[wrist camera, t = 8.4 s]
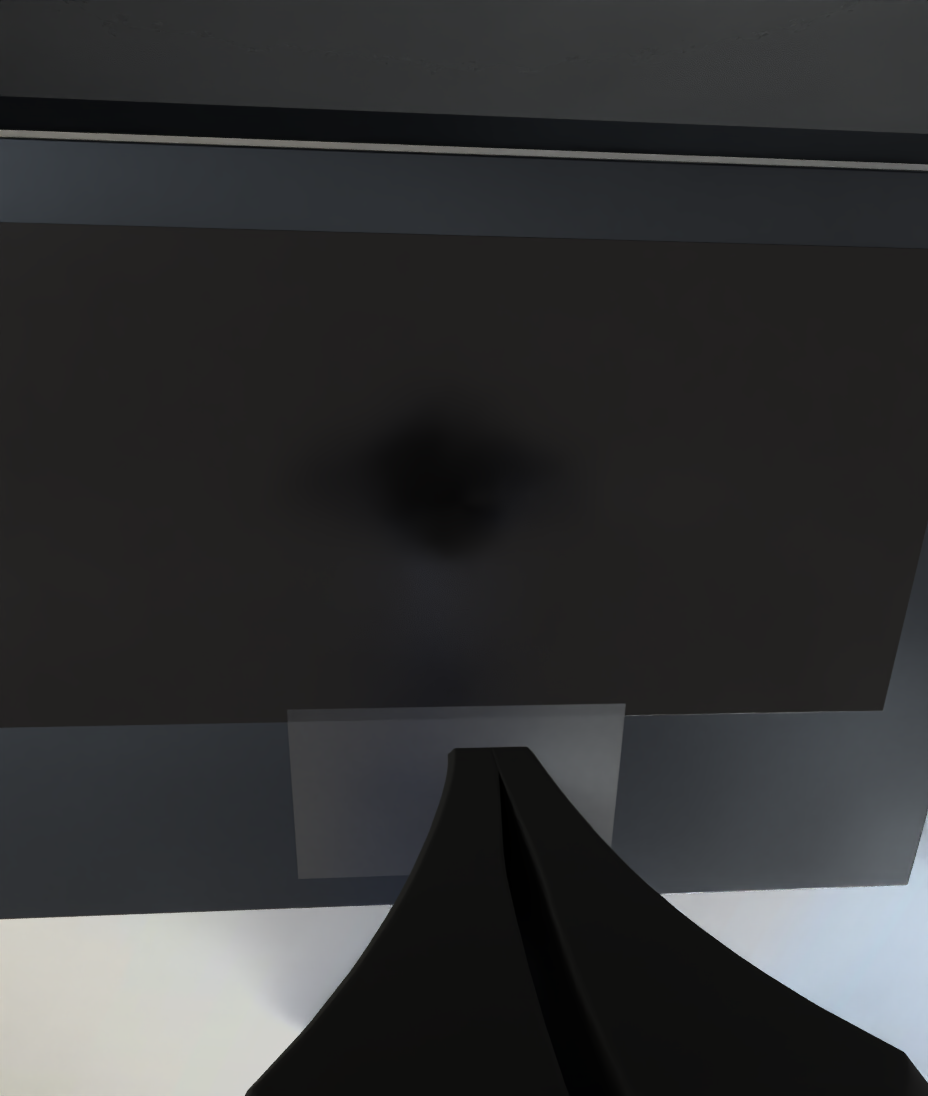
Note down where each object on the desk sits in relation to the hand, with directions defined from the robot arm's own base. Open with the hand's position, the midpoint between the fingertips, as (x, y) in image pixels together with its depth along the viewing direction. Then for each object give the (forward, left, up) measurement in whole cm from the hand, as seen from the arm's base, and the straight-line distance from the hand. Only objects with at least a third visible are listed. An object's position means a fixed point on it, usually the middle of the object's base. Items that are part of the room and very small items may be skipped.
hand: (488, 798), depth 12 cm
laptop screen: (+7, -12, +3) cm, 14 cm away
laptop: (0, -1, -9) cm, 9 cm away
